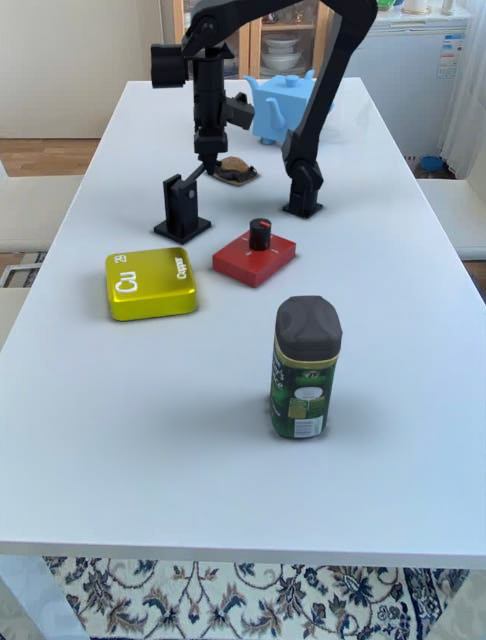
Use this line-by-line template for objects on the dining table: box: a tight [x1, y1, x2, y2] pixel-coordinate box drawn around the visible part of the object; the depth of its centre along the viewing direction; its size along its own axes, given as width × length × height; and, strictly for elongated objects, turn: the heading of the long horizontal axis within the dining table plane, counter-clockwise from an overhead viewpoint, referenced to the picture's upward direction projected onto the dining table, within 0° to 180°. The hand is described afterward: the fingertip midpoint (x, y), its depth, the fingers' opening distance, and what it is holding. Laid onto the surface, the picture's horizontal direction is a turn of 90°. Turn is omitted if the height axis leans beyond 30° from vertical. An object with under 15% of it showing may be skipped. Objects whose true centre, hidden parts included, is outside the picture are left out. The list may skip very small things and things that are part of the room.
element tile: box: [104, 246, 198, 322], centre depth 100 cm, size 15×15×5 cm
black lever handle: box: [171, 154, 222, 200], centre depth 111 cm, size 12×6×2 cm, turn 140°
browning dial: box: [248, 217, 273, 251], centre depth 104 cm, size 4×4×5 cm
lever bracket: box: [152, 173, 212, 246], centre depth 112 cm, size 9×8×10 cm
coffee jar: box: [269, 295, 344, 439], centre depth 74 cm, size 10×8×19 cm
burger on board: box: [212, 155, 260, 187], centre depth 131 cm, size 11×8×4 cm
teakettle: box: [242, 69, 335, 145], centre depth 140 cm, size 19×19×15 cm
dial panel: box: [211, 229, 297, 289], centre depth 106 cm, size 13×10×3 cm
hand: (210, 170), depth 114 cm, fingers closed on black lever handle, 3 cm apart
